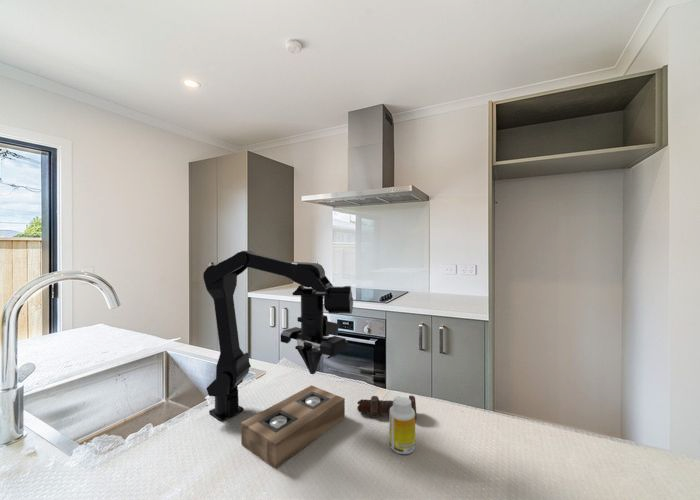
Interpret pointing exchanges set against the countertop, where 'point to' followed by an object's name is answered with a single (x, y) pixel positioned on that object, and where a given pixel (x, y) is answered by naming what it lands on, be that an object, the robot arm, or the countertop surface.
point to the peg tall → (278, 421)
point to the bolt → (379, 406)
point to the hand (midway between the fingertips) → (312, 373)
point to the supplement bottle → (402, 425)
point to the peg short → (312, 401)
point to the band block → (291, 425)
